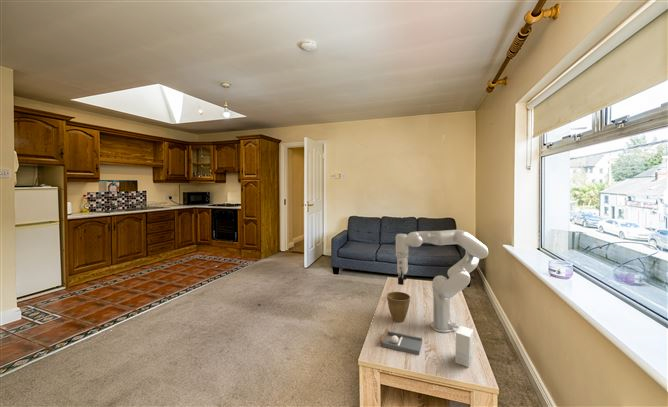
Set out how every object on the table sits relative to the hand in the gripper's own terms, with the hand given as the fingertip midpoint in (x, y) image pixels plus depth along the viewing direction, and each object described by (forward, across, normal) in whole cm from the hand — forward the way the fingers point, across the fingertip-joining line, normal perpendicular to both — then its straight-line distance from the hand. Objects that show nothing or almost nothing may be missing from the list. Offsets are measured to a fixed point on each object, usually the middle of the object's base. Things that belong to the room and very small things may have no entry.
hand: (402, 281), depth 165 cm
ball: (+26, -20, +1) cm, 33 cm away
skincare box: (+28, -22, -34) cm, 49 cm away
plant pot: (+28, +8, +4) cm, 30 cm away
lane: (+28, -19, -3) cm, 34 cm away
